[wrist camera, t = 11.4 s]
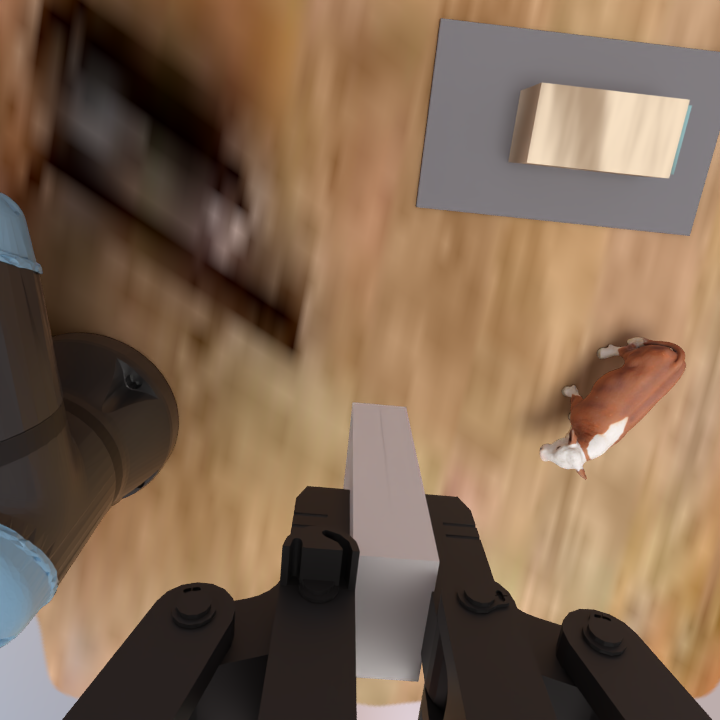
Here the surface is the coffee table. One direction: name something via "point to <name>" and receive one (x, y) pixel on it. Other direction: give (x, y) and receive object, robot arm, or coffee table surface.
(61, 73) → the coffee table surface
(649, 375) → the bull figurine
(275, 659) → the robot arm
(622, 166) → the beech block
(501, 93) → the felt mat
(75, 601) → the coffee table surface
